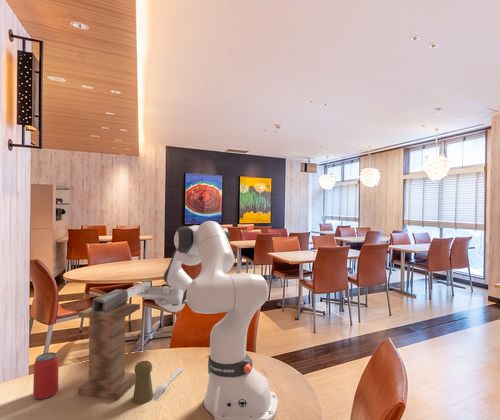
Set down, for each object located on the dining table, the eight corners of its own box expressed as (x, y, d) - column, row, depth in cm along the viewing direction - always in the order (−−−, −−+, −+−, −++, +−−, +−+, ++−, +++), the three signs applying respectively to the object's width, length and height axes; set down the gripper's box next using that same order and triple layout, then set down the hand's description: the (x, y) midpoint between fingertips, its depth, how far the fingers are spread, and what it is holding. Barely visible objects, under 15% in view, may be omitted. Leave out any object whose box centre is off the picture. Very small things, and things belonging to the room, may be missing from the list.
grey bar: (152, 287, 127) (152, 281, 127) (118, 302, 105) (118, 295, 105) (146, 286, 127) (146, 280, 127) (112, 302, 106) (112, 295, 106)
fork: (184, 375, 115) (185, 368, 116) (157, 403, 95) (158, 394, 96) (177, 375, 116) (178, 367, 116) (148, 402, 96) (149, 392, 96)
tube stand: (139, 379, 108) (140, 291, 108) (117, 400, 96) (118, 300, 96) (103, 374, 110) (104, 288, 110) (78, 394, 99) (79, 297, 99)
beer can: (28, 397, 97) (28, 358, 97) (48, 386, 103) (49, 350, 103) (42, 402, 95) (43, 362, 95) (63, 390, 101) (63, 353, 101)
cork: (146, 405, 94) (147, 368, 94) (128, 402, 95) (129, 366, 95) (156, 393, 100) (157, 359, 100) (139, 391, 101) (140, 357, 101)
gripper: (145, 288, 145) (131, 279, 133) (187, 291, 141) (175, 282, 129) (141, 301, 142) (126, 294, 130) (184, 305, 138) (172, 297, 126)
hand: (151, 288), depth 129 cm, fingers open, 8 cm apart
